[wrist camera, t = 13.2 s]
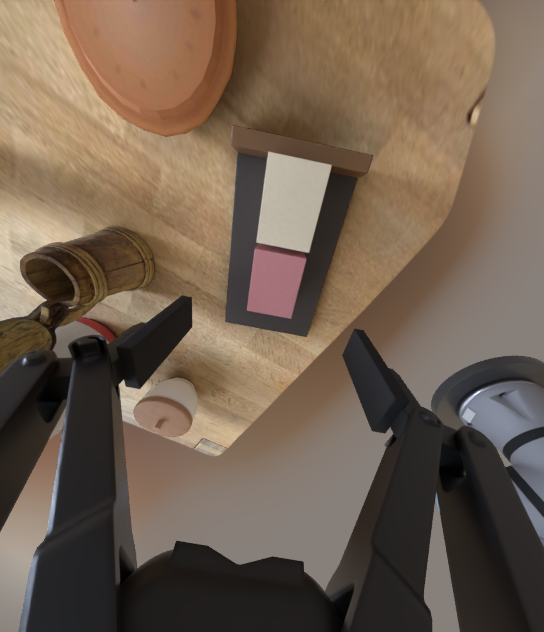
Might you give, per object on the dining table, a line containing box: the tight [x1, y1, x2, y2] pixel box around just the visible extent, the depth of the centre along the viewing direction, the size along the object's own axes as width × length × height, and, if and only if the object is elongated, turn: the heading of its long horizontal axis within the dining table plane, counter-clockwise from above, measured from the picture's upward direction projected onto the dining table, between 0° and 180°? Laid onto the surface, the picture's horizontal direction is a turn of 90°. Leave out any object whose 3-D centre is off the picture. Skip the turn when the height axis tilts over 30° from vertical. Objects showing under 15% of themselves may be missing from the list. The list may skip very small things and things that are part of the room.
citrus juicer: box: [49, 317, 116, 440], centre depth 30 cm, size 16×17×20 cm
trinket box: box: [134, 378, 198, 437], centre depth 39 cm, size 11×11×9 cm
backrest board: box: [225, 125, 373, 337], centre depth 26 cm, size 14×24×4 cm, turn 170°
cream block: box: [256, 152, 332, 253], centre depth 22 cm, size 6×8×5 cm
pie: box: [54, 0, 237, 137], centre depth 17 cm, size 16×16×5 cm
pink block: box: [247, 243, 307, 319], centre depth 26 cm, size 6×8×5 cm
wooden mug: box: [0, 227, 155, 374], centre depth 23 cm, size 9×14×18 cm, turn 151°
